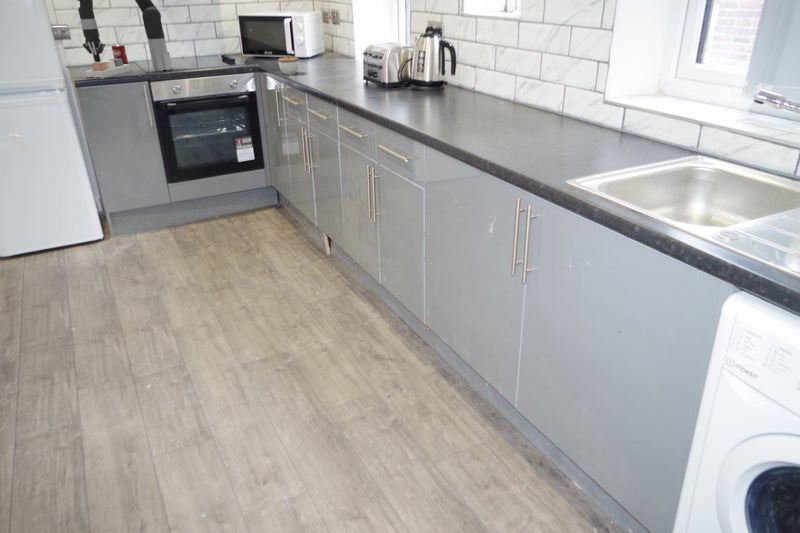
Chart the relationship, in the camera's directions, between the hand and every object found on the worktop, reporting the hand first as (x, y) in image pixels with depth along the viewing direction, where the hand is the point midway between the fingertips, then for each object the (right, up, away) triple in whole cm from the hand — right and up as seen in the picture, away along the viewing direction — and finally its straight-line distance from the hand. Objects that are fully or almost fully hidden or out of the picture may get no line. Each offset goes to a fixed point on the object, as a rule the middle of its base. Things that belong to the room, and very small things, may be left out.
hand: (97, 61), depth 326 cm
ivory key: (+2, -1, +8) cm, 8 cm away
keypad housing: (+2, -4, +9) cm, 10 cm away
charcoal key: (+4, +2, +14) cm, 15 cm away
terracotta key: (0, -4, +2) cm, 5 cm away
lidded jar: (+105, -7, -1) cm, 105 cm away
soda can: (-3, +9, +35) cm, 37 cm away
